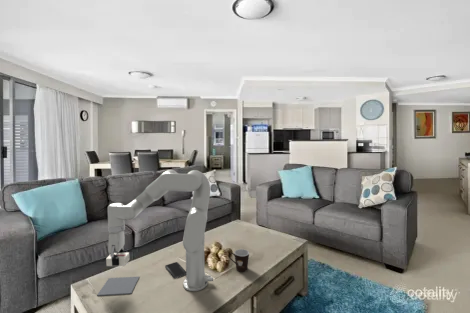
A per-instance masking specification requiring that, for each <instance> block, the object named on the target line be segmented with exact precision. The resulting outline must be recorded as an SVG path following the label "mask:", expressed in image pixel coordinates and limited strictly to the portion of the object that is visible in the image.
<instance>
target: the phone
mask: <svg viewBox="0 0 470 313" xmlns="http://www.w3.org/2000/svg"><path fill="white" fill-rule="evenodd" d="M164 268H165V269H166V270H167V272H168V273H169V274H170V276H171V277H172V278H173V279H179V278H182V277H184V276H186V269H184V267H182V266H181V264H180V263H179V262H178V261H175V262H172V263H168V264H165V265H164Z"/></svg>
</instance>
